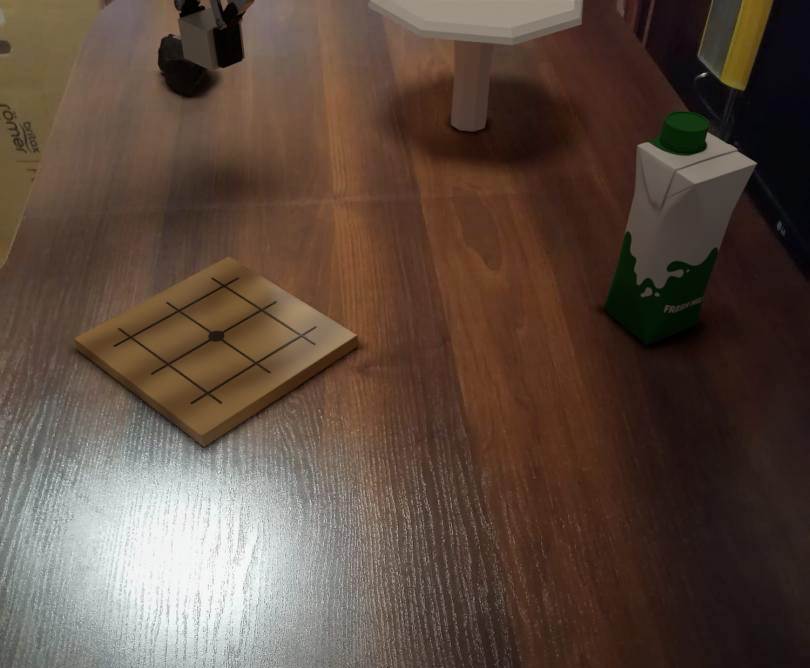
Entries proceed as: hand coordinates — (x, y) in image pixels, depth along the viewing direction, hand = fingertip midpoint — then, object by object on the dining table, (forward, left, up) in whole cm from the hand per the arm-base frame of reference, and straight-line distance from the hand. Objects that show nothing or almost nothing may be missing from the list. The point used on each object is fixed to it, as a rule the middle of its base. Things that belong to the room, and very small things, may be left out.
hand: (214, 54), depth 96 cm
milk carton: (+53, +13, -15) cm, 57 cm away
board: (+24, -22, -15) cm, 36 cm away
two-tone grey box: (0, 0, 0) cm, 0 cm away
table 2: (+11, +33, -15) cm, 38 cm away
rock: (-26, +14, -15) cm, 33 cm away
